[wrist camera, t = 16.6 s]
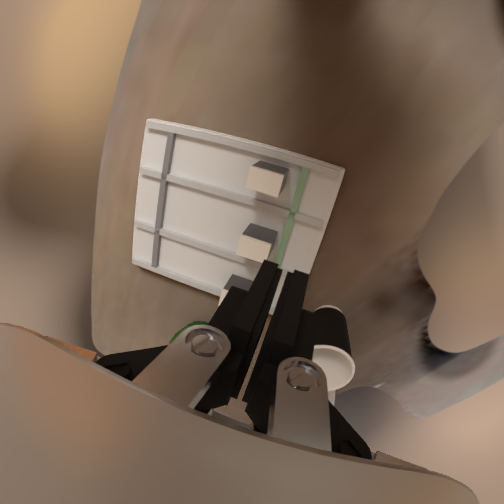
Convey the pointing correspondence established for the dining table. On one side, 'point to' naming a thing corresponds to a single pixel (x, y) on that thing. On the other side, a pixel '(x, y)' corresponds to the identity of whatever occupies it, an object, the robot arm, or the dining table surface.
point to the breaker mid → (256, 243)
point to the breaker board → (224, 206)
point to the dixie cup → (333, 347)
